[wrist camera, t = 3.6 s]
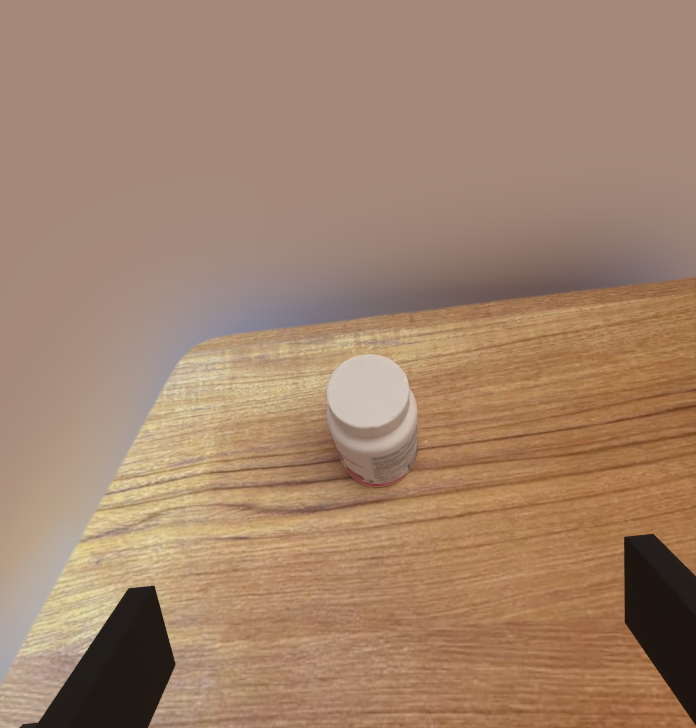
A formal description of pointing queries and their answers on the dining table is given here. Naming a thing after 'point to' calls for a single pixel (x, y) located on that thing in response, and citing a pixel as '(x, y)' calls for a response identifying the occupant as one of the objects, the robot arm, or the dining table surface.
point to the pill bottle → (372, 419)
